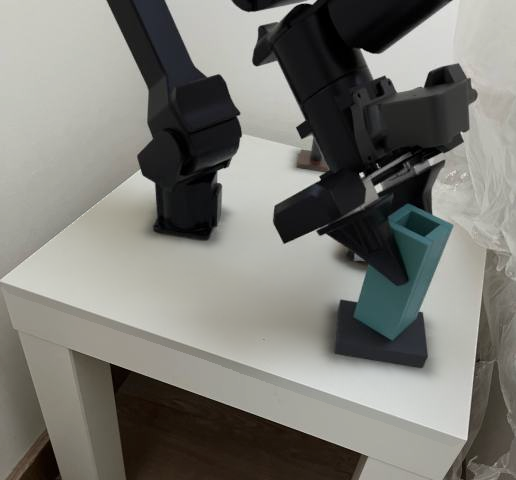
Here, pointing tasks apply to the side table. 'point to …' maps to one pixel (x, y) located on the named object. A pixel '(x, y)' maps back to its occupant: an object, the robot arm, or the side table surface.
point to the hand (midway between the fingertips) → (417, 272)
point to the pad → (379, 339)
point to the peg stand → (312, 159)
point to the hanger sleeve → (417, 266)
